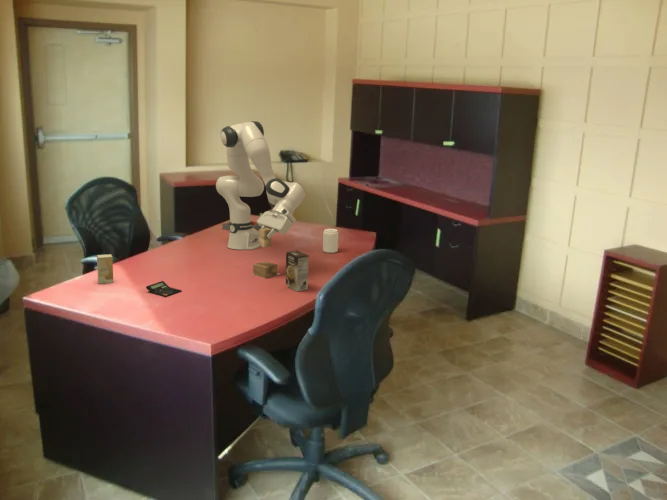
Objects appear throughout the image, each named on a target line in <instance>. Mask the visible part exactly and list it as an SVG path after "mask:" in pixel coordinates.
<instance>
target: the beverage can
mask: <svg viewBox="0 0 667 500" xmlns="http://www.w3.org/2000/svg"><path fill="white" fill-rule="evenodd" d="M322 236H323V237H322V251H323V252H324V253H327V254H334V253H337V252H338V251H339V250H338V249H339V231H338V229H336V228H325V229H324V230H323V234H322Z"/></svg>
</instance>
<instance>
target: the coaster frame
mask: <svg viewBox="0 0 667 500" xmlns="http://www.w3.org/2000/svg"><path fill="white" fill-rule="evenodd" d="M250 221H251V222H252V221H253V220H250ZM255 222H256V225H253V228H254V229H256V230H258V231H259V229H261V228H262V227H261V226H260V225H259V224H258V223H257V221H255ZM221 225H222V227H221V228H222V230H226V231H230V228H229V222H225V223H222V224H221Z"/></svg>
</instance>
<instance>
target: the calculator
mask: <svg viewBox="0 0 667 500" xmlns="http://www.w3.org/2000/svg"><path fill="white" fill-rule="evenodd" d="M145 288H146V289H147V290H148V292H149V293H151V294H152V295H155V296H159V297H161V298H162V297H164V298H168V297H170V296H173V295H176V294H179V293H182V291H183V290H181V289H180V288H179V289H178V288H175V287H172V286H171V287H170V286H169V285H168V284H167V283H166V282H165V281H163V280H161V281H158V282H156V283H153V284H149V285H147V286H146V287H145Z"/></svg>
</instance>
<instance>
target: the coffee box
mask: <svg viewBox="0 0 667 500" xmlns="http://www.w3.org/2000/svg"><path fill="white" fill-rule="evenodd" d="M309 256H310V255H309V254H307V253H304V252H302V251H300V250H291V251H290V250H289V251H286V252H285V258H286V259H285V285H286V286H287V287H288V288H289V289H290V290H293V291H295V292H301V291H306V290H308V289H309V288H308V287H309V264H310V263H309V261H310V259H309V258H310V257H309Z"/></svg>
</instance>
